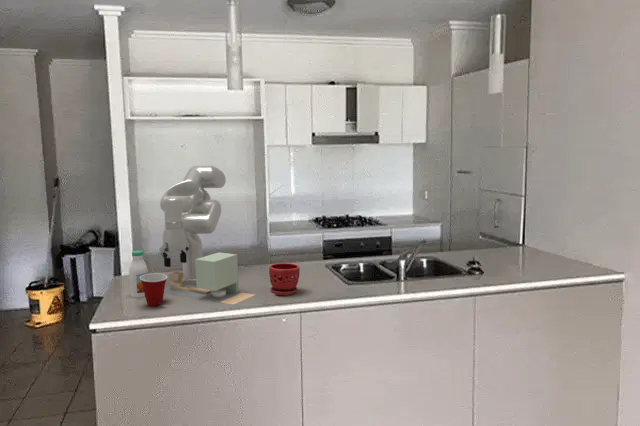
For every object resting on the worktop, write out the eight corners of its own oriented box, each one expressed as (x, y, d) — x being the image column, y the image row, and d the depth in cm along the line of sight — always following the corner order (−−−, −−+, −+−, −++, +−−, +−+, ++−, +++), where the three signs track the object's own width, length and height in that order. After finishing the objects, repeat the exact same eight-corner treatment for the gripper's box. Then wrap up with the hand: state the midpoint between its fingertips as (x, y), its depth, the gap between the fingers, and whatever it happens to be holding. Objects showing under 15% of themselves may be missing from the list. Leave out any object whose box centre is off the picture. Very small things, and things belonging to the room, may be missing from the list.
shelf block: (220, 291, 237) (218, 252, 234) (238, 294, 232) (237, 254, 229) (197, 300, 224) (195, 259, 221) (216, 303, 219) (214, 261, 216)
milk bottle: (130, 300, 225) (127, 253, 222) (131, 295, 233) (128, 250, 230) (149, 298, 227) (146, 252, 225) (149, 293, 235) (147, 248, 232)
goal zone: (242, 294, 231) (242, 292, 231) (255, 297, 227) (255, 294, 227) (219, 304, 218) (219, 302, 218) (233, 306, 214) (233, 304, 214)
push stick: (177, 286, 242) (176, 271, 241) (212, 292, 232) (211, 276, 231) (170, 289, 238) (169, 273, 237) (205, 294, 228) (204, 278, 227)
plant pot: (288, 298, 224) (288, 270, 223) (263, 294, 231) (262, 267, 230) (305, 291, 236) (305, 264, 234) (281, 287, 242) (280, 261, 241)
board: (179, 284, 248) (179, 282, 248) (242, 294, 231) (242, 292, 231) (155, 293, 235) (155, 291, 235) (219, 304, 218) (219, 302, 218)
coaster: (218, 292, 231) (218, 288, 231) (229, 294, 229) (229, 289, 228) (208, 296, 226) (208, 291, 226) (220, 298, 223) (219, 293, 223)
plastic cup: (155, 310, 212) (154, 280, 210) (135, 306, 216) (133, 277, 215) (174, 302, 221) (173, 274, 220) (154, 299, 226) (153, 271, 224)
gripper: (181, 223, 244) (183, 260, 246) (152, 228, 229) (154, 267, 231) (194, 224, 240) (195, 261, 242) (165, 229, 225) (167, 269, 227)
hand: (175, 264), depth 236 cm, fingers open, 9 cm apart
